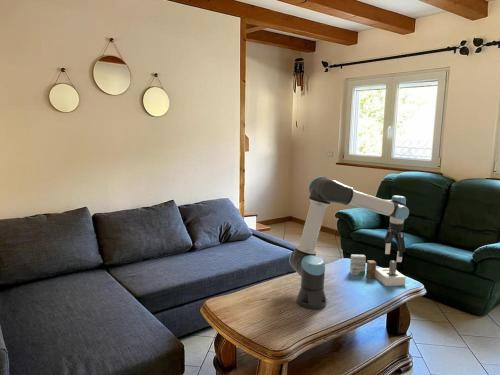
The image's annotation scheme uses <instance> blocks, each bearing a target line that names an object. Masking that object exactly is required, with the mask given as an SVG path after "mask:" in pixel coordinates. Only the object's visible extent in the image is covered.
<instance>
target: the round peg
mask: <svg viewBox="0 0 500 375" xmlns="http://www.w3.org/2000/svg"><path fill="white" fill-rule="evenodd" d="M396 261H397V260H394V259H393V260H390V261H389V267H388V268H389V276H395V275H396V270H397V262H396Z"/></svg>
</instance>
